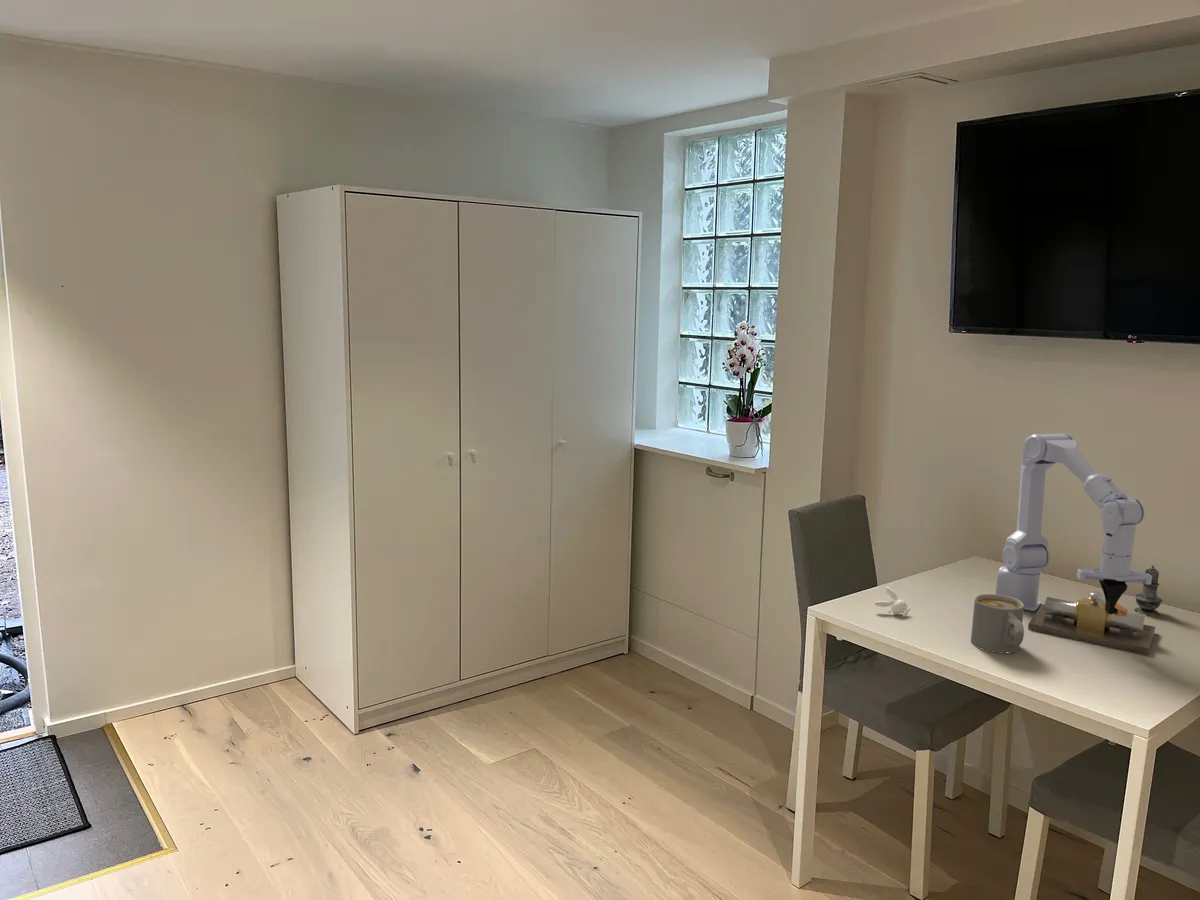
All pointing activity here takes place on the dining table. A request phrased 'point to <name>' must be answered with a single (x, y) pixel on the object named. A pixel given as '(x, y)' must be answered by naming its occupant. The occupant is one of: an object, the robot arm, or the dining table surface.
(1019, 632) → the coffee mug
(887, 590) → the rabbit figurine
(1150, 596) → the salt shaker
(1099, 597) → the valve lever
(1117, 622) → the valve manifold
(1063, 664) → the dining table surface
